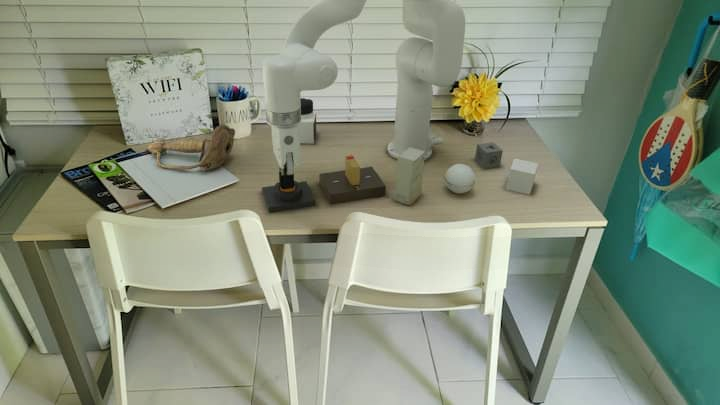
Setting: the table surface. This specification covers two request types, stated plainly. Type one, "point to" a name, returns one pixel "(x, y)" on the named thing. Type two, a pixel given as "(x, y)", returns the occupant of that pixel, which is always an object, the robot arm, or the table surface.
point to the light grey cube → (521, 176)
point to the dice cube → (488, 155)
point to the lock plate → (343, 191)
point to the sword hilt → (199, 149)
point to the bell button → (288, 189)
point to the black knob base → (288, 197)
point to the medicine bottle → (307, 122)
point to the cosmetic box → (409, 175)
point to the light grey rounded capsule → (460, 178)
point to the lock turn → (352, 170)
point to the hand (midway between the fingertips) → (287, 186)
